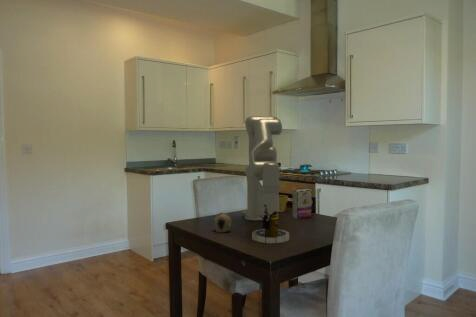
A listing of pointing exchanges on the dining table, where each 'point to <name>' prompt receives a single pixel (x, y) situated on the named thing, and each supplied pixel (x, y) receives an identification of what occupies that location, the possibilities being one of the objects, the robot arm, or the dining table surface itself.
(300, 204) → the candy bar box
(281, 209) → the plant pot
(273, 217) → the condiment
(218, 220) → the garlic bulb
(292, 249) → the dining table surface
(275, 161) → the robot arm
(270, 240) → the faceted plate
